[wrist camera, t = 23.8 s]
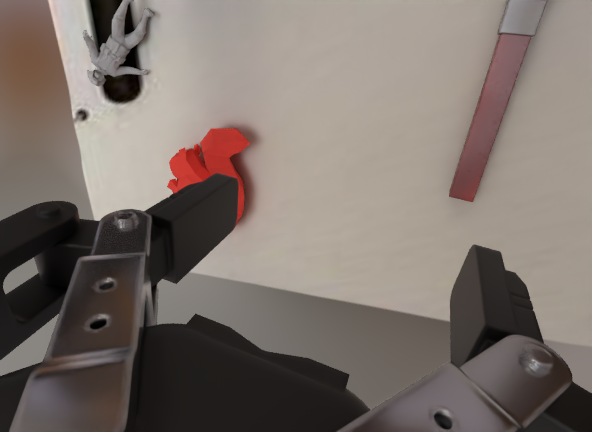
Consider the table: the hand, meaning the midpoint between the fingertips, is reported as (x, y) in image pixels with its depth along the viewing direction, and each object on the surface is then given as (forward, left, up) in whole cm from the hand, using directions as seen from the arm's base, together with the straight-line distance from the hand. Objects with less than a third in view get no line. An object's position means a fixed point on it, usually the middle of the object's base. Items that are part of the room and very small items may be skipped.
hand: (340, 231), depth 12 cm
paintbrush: (+5, +6, -28) cm, 29 cm away
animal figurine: (-24, -11, -28) cm, 38 cm away
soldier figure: (-38, +3, -28) cm, 47 cm away
